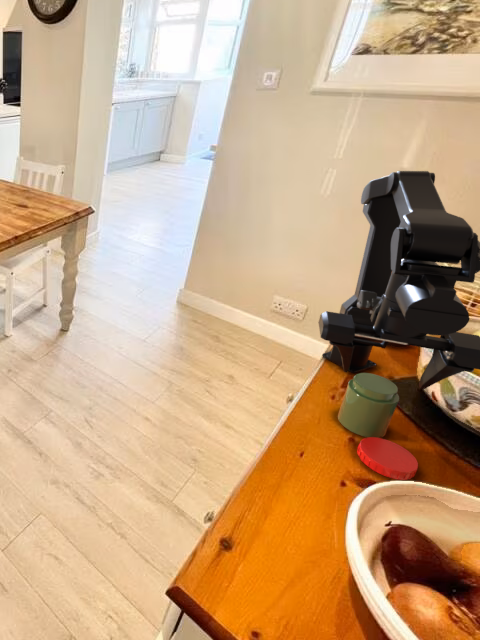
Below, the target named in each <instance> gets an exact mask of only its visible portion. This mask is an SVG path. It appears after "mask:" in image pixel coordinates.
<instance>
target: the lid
mask: <svg viewBox="0 0 480 640" xmlns="http://www.w3.org/2000/svg"><path fill="white" fill-rule="evenodd" d="M357 445H358V446H357V448H356V450H357V451H356V454H357V456H358V458H359V459H360V461H361V462H362V463H363V464H364V465H366V466H367V467H368V468H369V469H370V470H372V471H373V472H375V473H377V474H380V475H382V476H384V477H385V478H386V477H387V478H389V479H393V480H399V481H407V480H411V479H412V478H414V477H415V475H416V474H417V471H418V467H419V463H418V460H417V458H416V457H415V456H414V455H413V453H411V452H410V451H409V450H407V449H406V448H404V447H403V446H401V445H399V444H398V443H396V442H394V441H391V440H389V439H385V438H383V437H381V438H376V437H364V438H362V439H361V440H360V442H359V443H358V444H357Z"/></svg>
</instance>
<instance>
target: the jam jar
mask: <svg viewBox="0 0 480 640" xmlns="http://www.w3.org/2000/svg"><path fill="white" fill-rule="evenodd" d="M398 392H399V387H398V386H397V385H396V384H395V383H394V382H393V381H391V380H390V379H388V378H386V377H384V376H381V375H379V374H375V373H370V372H358V373H356V374H355V375H354V376H353V377H352V379H350V380H349V381H348V383H347V386H346V389H345V391H344V395H343V398H342V401H341V404H340V408H339V410H338V413H337V420H338V422H339V423H340V424H341V426H343V427H344V428H345V429H347V430H348V431H349V432H351V433H354V434H356V435H358V436H361V437H364V438H368V437H376V438H383V437H385V436H386V434H387V431H388V429H389V426H390V424H391V421H392V419H393V417H394V413H395V411H396V409H397V406H398V403H399V401H400V395H399V394H398Z"/></svg>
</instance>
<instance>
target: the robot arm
mask: <svg viewBox="0 0 480 640" xmlns="http://www.w3.org/2000/svg"><path fill="white" fill-rule="evenodd" d="M435 181H436V173H434V172H430V171H428V170H397V171H392V172H391V173H390V174H389V175H385V176H383V177H379V178H375V179H372V180H370V181H369V182H368V183H367V184H366V185H364V188H363V190H362V193H361V196H360V197H361V198H360V204H361V205H363V207H362V214H363V215H364V217H365V218H366V220H367V222H368V224H369V230H368V234H367V238H366V243H365V247H364V251H363V256H362V261H361V265H360V269H359V273H358V278H357V282H356V286H355V289H354V294H353V295H352V296H350V297H349V298H348V299H346V300H345V301H344V302H343V303H342V304H341V305H340V309H339V312H334V311H327V310H325V311H323V312H322V313H321V314H320V315H319V318H318V321H317V322H318V329H319V335H320V338H321V339H322V340H324V341H327V342H328V343H329V345H331V346H332V348H331V350H330V351H327V352H324V353H322V355H321V356H322V357H323V358H325V359H326V360H327V361H329V362H331V363H333V364H335V365H336V366H339V367H340V368H342V369H343V372H344V373H346V374H347V373H348V372H349V373H351V374H358V373H361V372H362V371H365V370H368V369H372V368H375V367H376V366H377V363H376V362H374V361H372V360H370V356H371V353H372V350H373V348H374V347H377V348H381V349H386V348H387V347H389V346H388V344H389V342H393V343H399V344H404V345H411V346H413V347H418V348H423V349H429V350H432V351H433V352H432V356H431V358H430V360H429V361H428V363H427V365H426V367H425V368H424V371H423V372H422V374H421V376H420V378H419V382H418V388H419V390H425V389H428V388H430V387H431V386H433V385H435V384H437V383H439V382H440V381H443V380H444V379H445V380H446V379H447V378H449V377H452V376H455V375H457V374H460V373H462V372H466V373H473V372H474V371H475V370H479V371H480V335H477V334H471V333H465V332H459V331H461V330H463V329H464V328H465V327H466V326H467V325H468V324H469V322H470V313H469V311H468V309H467V308H466V306H465V304H464V303H463V302H462V300H461V299H460V298H459V296H458V295H457V290H456V289H455V286H456V284H457V282H462V283H474V282H475V279H476V274H478V273H479V272H480V240H479V235H478V234H477V232H474V230H473V228H472V226H471V225H470V224H469V222H468V221H466V219H465V218H463V217H461V216H458V215H455V214H452V213H450V212H447V211H446V208H445V205H444V204H443V202H442V199H441V196H440V195H439V193H438V190H437V188H436V186H435ZM440 263H441V264H451V265H458V264H460V267H459V266H450V265H440ZM437 336H439V337H437Z"/></svg>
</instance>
